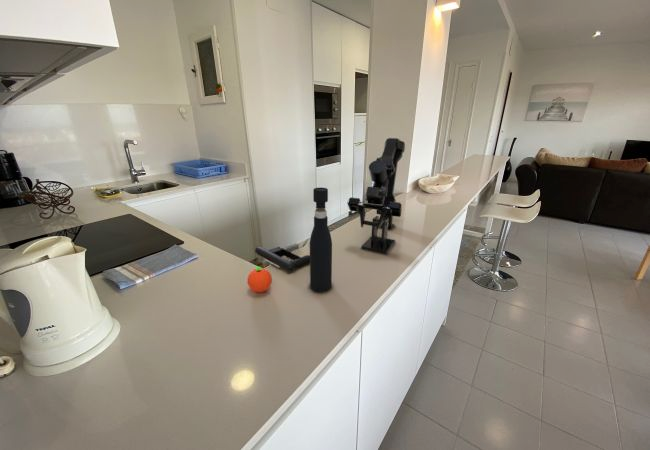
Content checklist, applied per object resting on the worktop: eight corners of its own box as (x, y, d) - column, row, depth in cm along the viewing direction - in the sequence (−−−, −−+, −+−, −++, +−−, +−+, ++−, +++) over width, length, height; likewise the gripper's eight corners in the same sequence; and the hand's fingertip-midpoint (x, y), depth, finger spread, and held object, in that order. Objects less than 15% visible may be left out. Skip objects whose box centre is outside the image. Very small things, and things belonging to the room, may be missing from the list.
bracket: (386, 254, 103) (388, 225, 99) (361, 248, 108) (362, 220, 103) (395, 242, 113) (397, 216, 109) (371, 238, 117) (373, 212, 113)
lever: (376, 228, 94) (377, 221, 94) (362, 225, 97) (363, 219, 96) (387, 226, 107) (388, 220, 107) (374, 224, 109) (375, 218, 109)
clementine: (246, 284, 84) (243, 264, 82) (269, 280, 87) (267, 259, 84) (250, 299, 77) (248, 277, 75) (275, 293, 80) (273, 272, 77)
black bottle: (315, 294, 79) (314, 193, 69) (306, 283, 85) (304, 187, 74) (335, 288, 82) (337, 190, 71) (325, 278, 88) (325, 185, 77)
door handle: (286, 237, 112) (251, 247, 100) (321, 252, 99) (286, 266, 88) (286, 245, 113) (252, 256, 101) (321, 261, 100) (286, 276, 89)
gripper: (349, 175, 98) (338, 213, 92) (404, 179, 91) (395, 220, 85) (355, 192, 107) (345, 228, 101) (404, 197, 101) (397, 235, 95)
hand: (369, 228), depth 95 cm, fingers closed on lever, 5 cm apart
